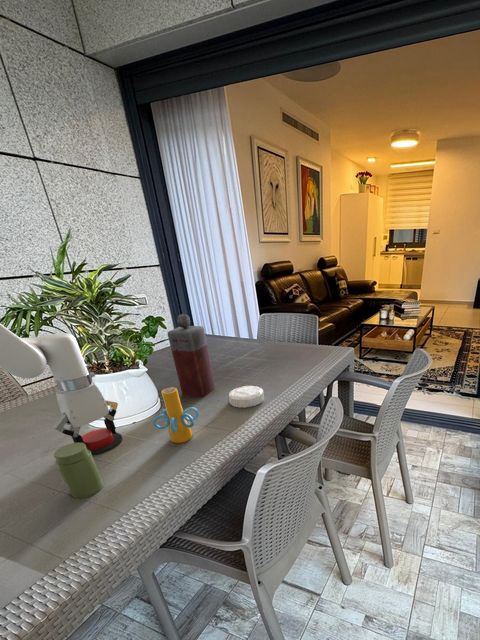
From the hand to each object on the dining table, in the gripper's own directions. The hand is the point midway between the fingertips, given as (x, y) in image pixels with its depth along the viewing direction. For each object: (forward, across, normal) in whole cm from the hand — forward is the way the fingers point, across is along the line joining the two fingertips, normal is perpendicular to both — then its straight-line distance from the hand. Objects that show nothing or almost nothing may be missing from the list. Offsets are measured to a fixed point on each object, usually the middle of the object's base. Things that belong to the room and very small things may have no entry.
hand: (97, 439), depth 100 cm
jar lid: (-1, 0, 0) cm, 1 cm away
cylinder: (+2, -14, +19) cm, 23 cm away
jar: (+2, +13, +18) cm, 22 cm away
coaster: (+2, 0, 0) cm, 2 cm away
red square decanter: (+2, -40, -4) cm, 40 cm away
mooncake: (+2, -42, +19) cm, 46 cm away
